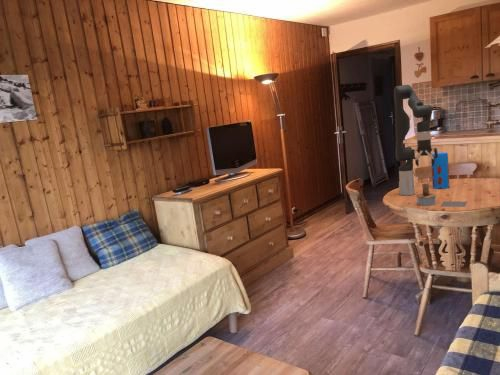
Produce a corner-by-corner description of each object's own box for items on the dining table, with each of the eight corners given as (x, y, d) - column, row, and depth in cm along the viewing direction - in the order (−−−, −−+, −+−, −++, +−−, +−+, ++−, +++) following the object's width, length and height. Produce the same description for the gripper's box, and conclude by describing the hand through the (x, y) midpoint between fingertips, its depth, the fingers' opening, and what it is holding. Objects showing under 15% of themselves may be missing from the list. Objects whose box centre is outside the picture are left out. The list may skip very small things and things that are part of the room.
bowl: (416, 206, 237) (415, 198, 236) (419, 202, 245) (419, 194, 244) (434, 206, 231) (433, 198, 230) (437, 202, 239) (436, 194, 238)
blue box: (448, 189, 271) (446, 153, 267) (431, 189, 277) (430, 155, 273) (449, 186, 280) (448, 152, 276) (433, 186, 286) (432, 153, 282)
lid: (414, 198, 236) (413, 186, 234) (418, 194, 244) (417, 182, 243) (434, 198, 229) (433, 185, 228) (437, 194, 238) (436, 182, 237)
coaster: (439, 207, 228) (439, 206, 227) (443, 202, 238) (443, 201, 238) (464, 207, 220) (464, 206, 220) (467, 202, 230) (467, 201, 230)
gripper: (409, 140, 233) (411, 167, 235) (435, 138, 224) (436, 166, 227) (412, 139, 239) (414, 165, 241) (437, 137, 230) (439, 164, 233)
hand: (425, 165), depth 234 cm, fingers open, 8 cm apart
